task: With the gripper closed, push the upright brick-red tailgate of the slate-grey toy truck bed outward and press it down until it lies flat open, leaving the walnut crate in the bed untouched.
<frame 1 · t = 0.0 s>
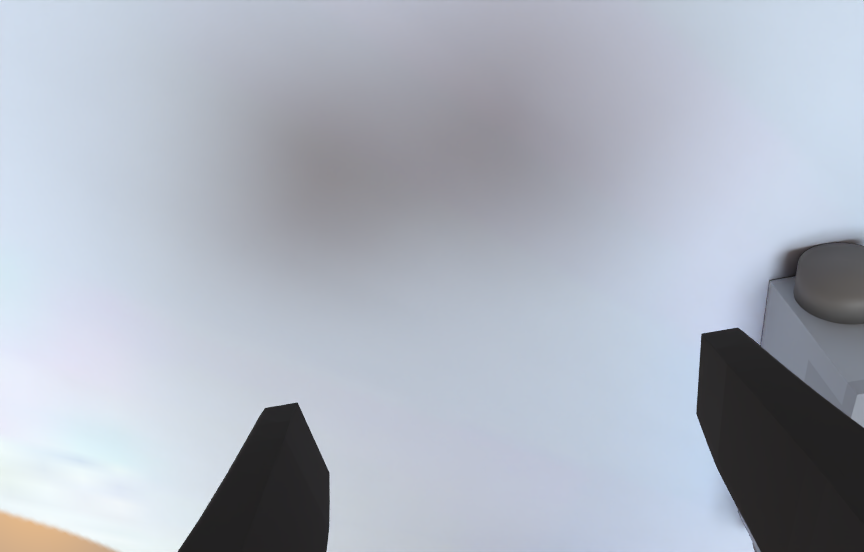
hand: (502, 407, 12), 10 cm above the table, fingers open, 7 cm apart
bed: (813, 403, 27), on the table
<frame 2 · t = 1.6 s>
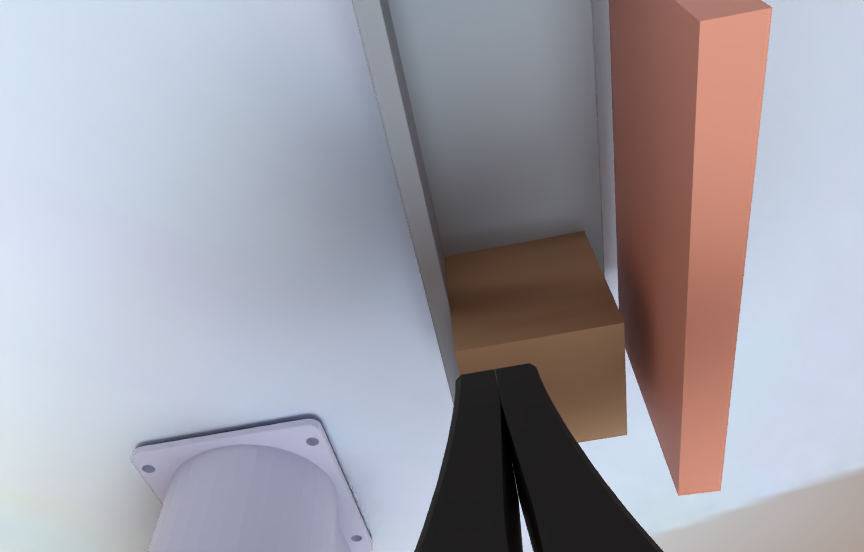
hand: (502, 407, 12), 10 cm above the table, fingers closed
tailgate: (671, 231, 15), point 6 cm above the table, hinge at -2.0°
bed: (493, 147, 20), on the table
crate: (521, 298, 20), point 3 cm above the table, touching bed
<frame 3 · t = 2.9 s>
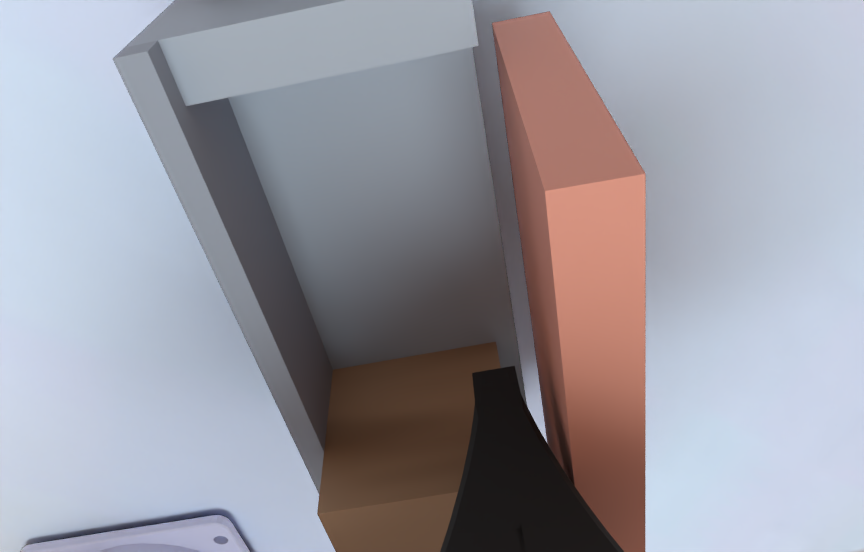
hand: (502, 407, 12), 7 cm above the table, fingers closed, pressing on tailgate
tailgate: (579, 372, 12), point 6 cm above the table, hinge at -1.7°, touching gripper
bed: (398, 234, 17), on the table
crate: (429, 411, 17), point 3 cm above the table, touching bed
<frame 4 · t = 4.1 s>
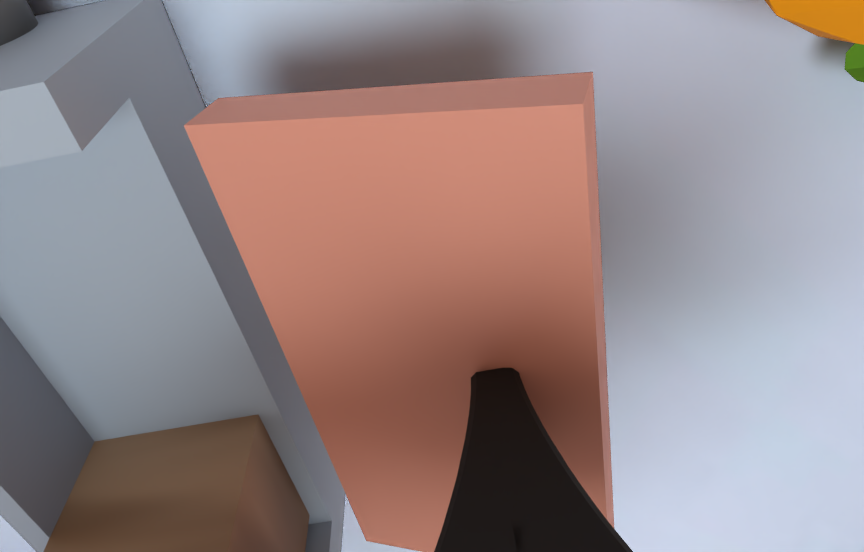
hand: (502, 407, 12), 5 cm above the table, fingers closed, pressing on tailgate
tailgate: (445, 376, 13), point 4 cm above the table, hinge at 70.2°, touching gripper
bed: (181, 295, 17), on the table
crate: (208, 480, 17), point 3 cm above the table, touching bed
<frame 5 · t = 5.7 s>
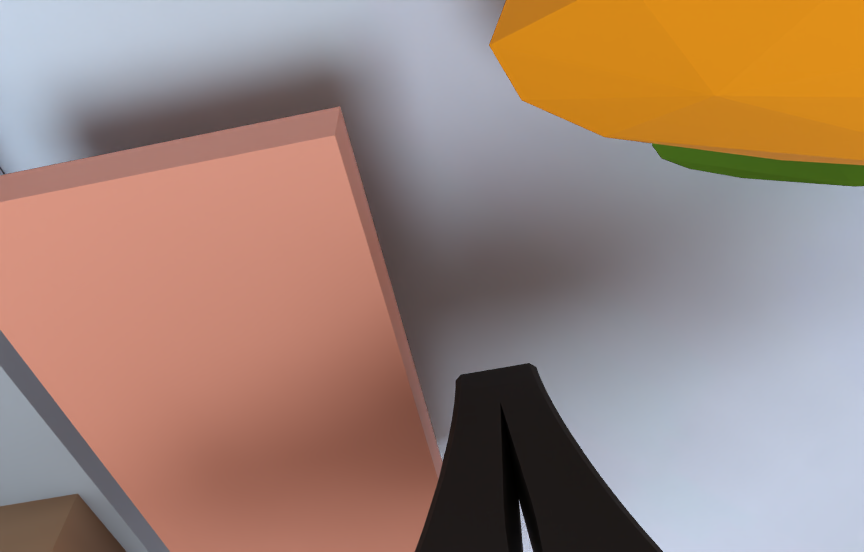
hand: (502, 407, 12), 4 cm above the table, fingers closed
tailgate: (267, 422, 13), point 3 cm above the table, hinge at 89.9°
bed: (14, 361, 16), on the table
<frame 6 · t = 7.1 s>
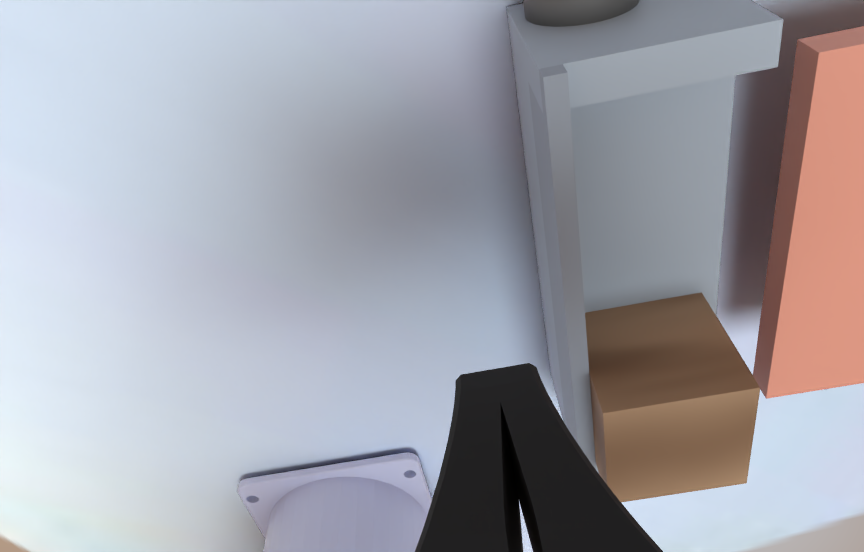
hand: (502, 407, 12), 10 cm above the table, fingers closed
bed: (608, 209, 22), on the table
crate: (636, 351, 21), point 3 cm above the table, touching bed
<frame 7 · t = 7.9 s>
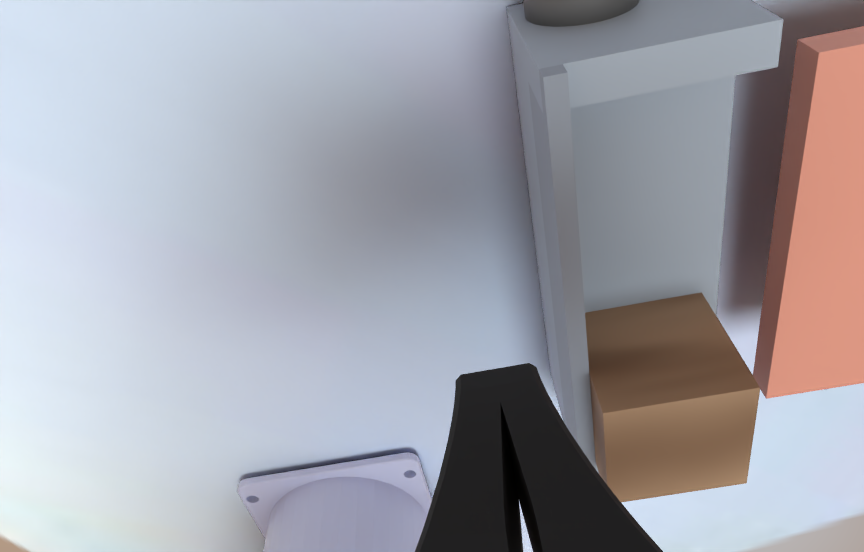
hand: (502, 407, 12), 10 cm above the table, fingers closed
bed: (608, 209, 22), on the table
crate: (636, 351, 21), point 3 cm above the table, touching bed
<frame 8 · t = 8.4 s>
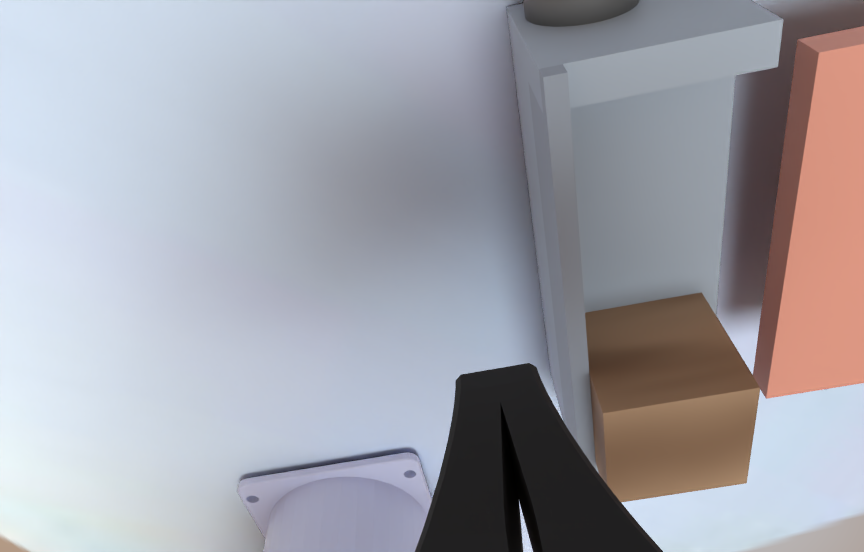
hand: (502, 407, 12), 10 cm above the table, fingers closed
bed: (608, 209, 22), on the table
crate: (636, 351, 21), point 3 cm above the table, touching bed
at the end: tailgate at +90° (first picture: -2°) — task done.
